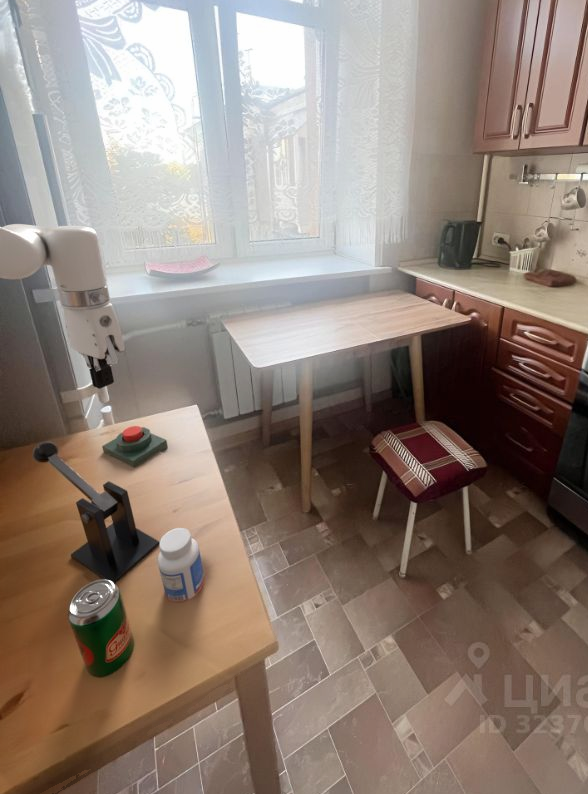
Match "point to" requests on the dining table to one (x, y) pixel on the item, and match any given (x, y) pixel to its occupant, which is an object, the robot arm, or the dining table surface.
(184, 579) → the pill bottle
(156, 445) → the control block
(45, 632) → the dining table surface
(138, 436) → the button
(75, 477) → the lever
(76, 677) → the dining table surface
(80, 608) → the soda can
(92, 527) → the bracket
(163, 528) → the dining table surface
